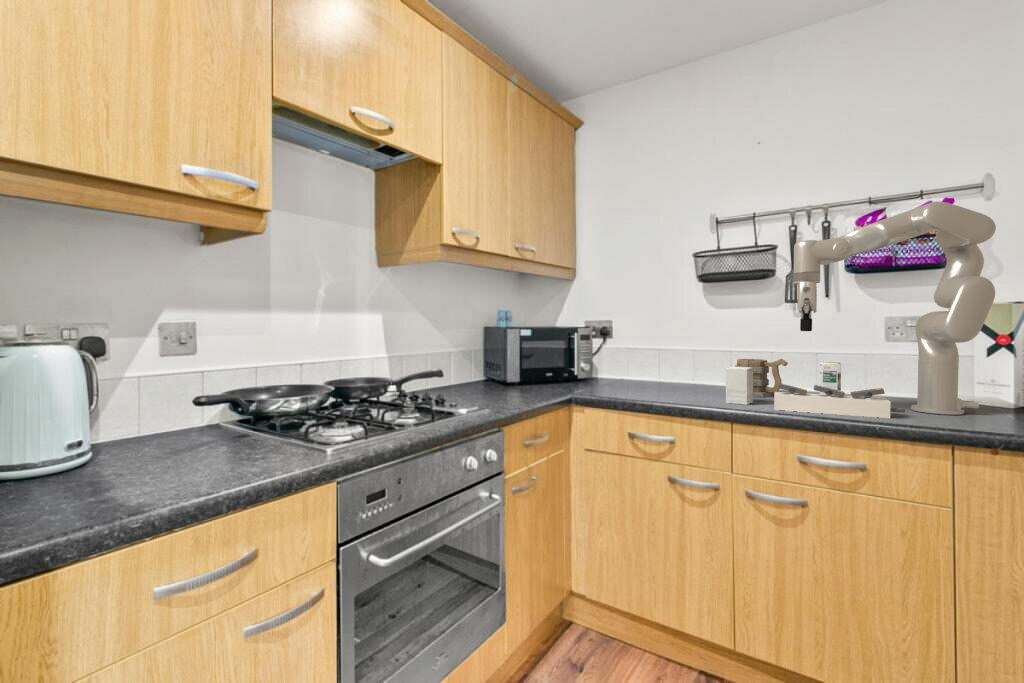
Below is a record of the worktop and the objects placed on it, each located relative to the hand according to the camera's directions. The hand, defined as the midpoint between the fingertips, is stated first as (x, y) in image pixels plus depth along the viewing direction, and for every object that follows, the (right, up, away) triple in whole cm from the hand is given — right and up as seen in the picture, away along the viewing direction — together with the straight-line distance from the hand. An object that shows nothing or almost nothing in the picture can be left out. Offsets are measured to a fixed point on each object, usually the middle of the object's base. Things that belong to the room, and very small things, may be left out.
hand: (805, 330), depth 157 cm
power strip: (+5, -26, -7) cm, 27 cm away
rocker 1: (-5, -19, -1) cm, 20 cm away
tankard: (0, -25, +29) cm, 38 cm away
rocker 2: (+4, -20, -6) cm, 21 cm away
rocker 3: (+12, -20, -11) cm, 25 cm away
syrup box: (+15, -26, +11) cm, 32 cm away
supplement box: (-16, -26, +13) cm, 33 cm away
